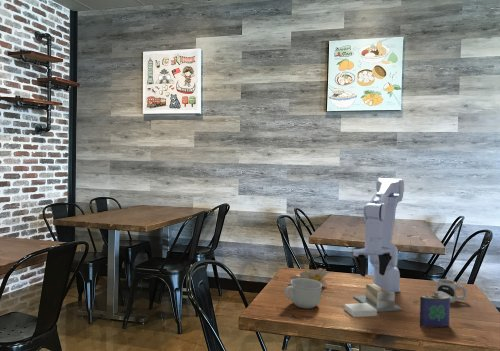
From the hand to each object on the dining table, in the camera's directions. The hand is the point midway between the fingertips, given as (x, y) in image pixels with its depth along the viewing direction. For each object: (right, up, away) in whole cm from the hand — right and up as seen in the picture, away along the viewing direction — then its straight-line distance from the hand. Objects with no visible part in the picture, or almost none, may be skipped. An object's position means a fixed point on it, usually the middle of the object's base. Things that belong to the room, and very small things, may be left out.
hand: (372, 275), depth 151 cm
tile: (-8, -9, -8) cm, 14 cm away
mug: (+29, -10, +3) cm, 31 cm away
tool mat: (+1, -9, -2) cm, 10 cm away
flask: (+13, -11, -21) cm, 27 cm away
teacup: (-26, -9, -6) cm, 28 cm away
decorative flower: (-19, -9, +18) cm, 28 cm away
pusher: (+1, -9, -2) cm, 9 cm away
